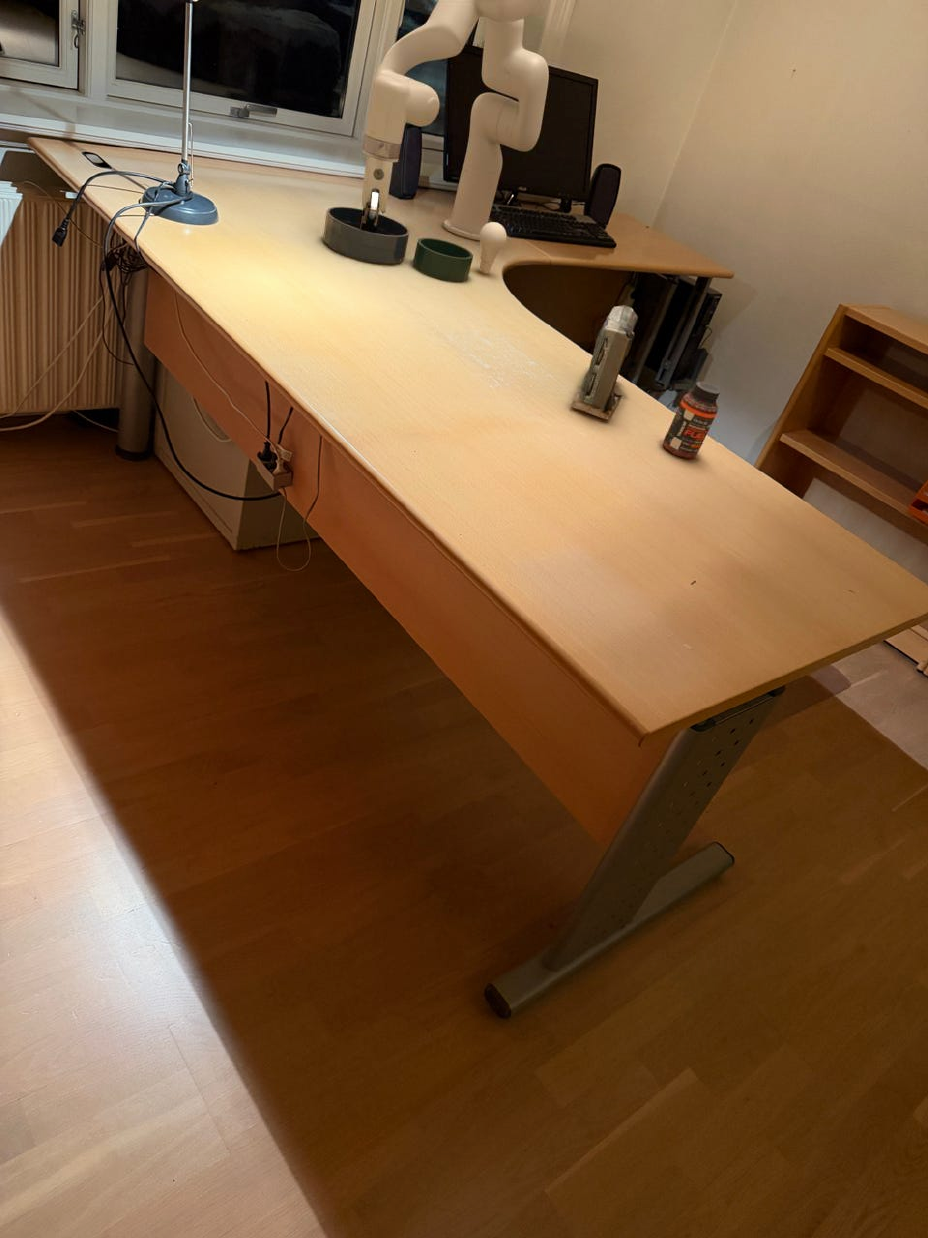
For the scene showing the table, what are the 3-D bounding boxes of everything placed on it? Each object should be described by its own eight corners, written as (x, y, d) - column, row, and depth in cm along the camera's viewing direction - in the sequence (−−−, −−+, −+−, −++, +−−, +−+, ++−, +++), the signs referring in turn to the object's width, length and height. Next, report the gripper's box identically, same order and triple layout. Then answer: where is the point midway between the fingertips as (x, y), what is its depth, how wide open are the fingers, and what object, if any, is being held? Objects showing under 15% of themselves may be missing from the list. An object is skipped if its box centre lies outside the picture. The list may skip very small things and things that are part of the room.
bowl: (323, 229, 186) (327, 200, 183) (401, 247, 191) (407, 220, 187) (321, 252, 172) (326, 221, 169) (406, 271, 177) (412, 242, 173)
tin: (410, 256, 187) (415, 233, 184) (464, 269, 190) (469, 246, 187) (414, 273, 177) (419, 249, 174) (470, 286, 180) (476, 263, 178)
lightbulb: (493, 279, 189) (507, 229, 183) (468, 271, 189) (481, 220, 183) (498, 273, 194) (511, 224, 188) (473, 265, 194) (486, 216, 188)
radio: (592, 369, 158) (620, 291, 149) (634, 386, 157) (665, 308, 148) (558, 405, 140) (588, 318, 131) (606, 424, 138) (639, 337, 129)
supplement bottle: (675, 459, 134) (704, 394, 127) (655, 440, 138) (682, 376, 131) (703, 460, 137) (733, 396, 130) (682, 442, 141) (711, 379, 134)
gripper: (402, 161, 164) (384, 255, 174) (397, 145, 177) (381, 232, 188) (364, 151, 162) (348, 246, 173) (362, 135, 175) (348, 224, 186)
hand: (365, 238), depth 180 cm, fingers open, 6 cm apart
